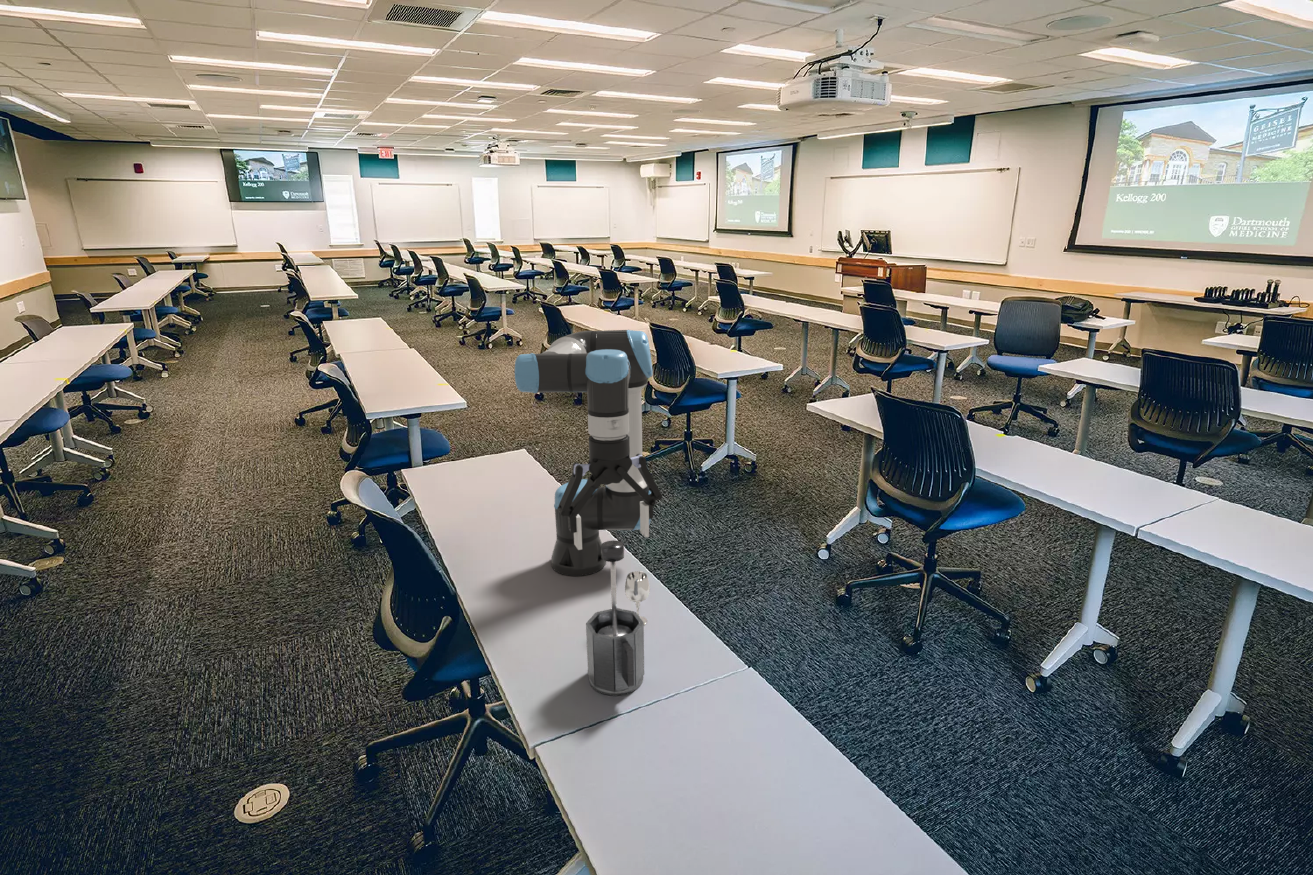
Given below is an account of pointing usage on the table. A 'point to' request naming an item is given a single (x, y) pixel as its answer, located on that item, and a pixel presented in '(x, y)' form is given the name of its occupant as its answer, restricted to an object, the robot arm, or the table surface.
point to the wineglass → (637, 589)
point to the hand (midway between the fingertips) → (612, 540)
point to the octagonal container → (615, 653)
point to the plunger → (613, 586)
